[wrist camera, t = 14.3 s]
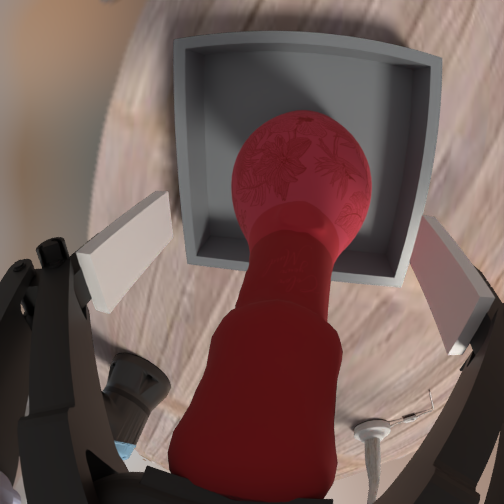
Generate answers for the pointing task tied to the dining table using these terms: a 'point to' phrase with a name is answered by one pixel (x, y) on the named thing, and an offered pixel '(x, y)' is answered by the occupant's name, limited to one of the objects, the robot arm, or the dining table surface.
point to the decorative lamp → (376, 448)
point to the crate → (313, 99)
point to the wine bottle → (279, 319)
